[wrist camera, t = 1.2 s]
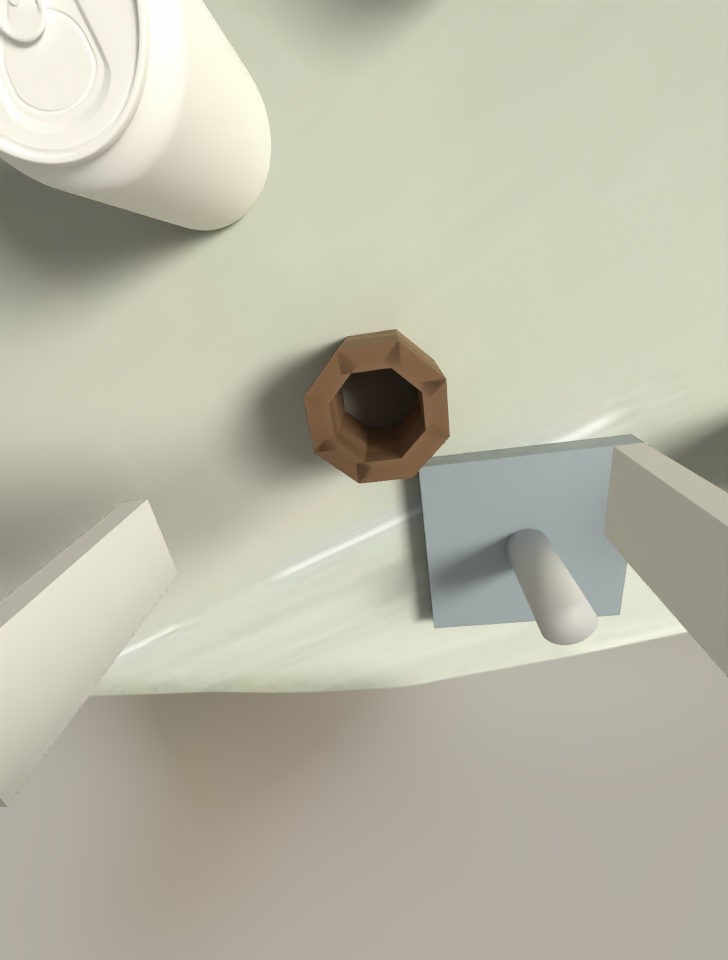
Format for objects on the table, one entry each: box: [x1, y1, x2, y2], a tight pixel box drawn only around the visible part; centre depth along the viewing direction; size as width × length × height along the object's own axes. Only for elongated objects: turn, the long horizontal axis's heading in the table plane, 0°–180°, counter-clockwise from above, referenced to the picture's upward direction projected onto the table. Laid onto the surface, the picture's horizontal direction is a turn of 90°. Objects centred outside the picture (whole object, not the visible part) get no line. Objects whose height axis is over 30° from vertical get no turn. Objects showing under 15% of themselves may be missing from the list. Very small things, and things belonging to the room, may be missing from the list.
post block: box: [418, 435, 644, 645], centre depth 27 cm, size 14×14×9 cm
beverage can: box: [0, 0, 271, 230], centre depth 16 cm, size 8×8×12 cm
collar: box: [303, 329, 450, 483], centre depth 24 cm, size 7×7×6 cm
